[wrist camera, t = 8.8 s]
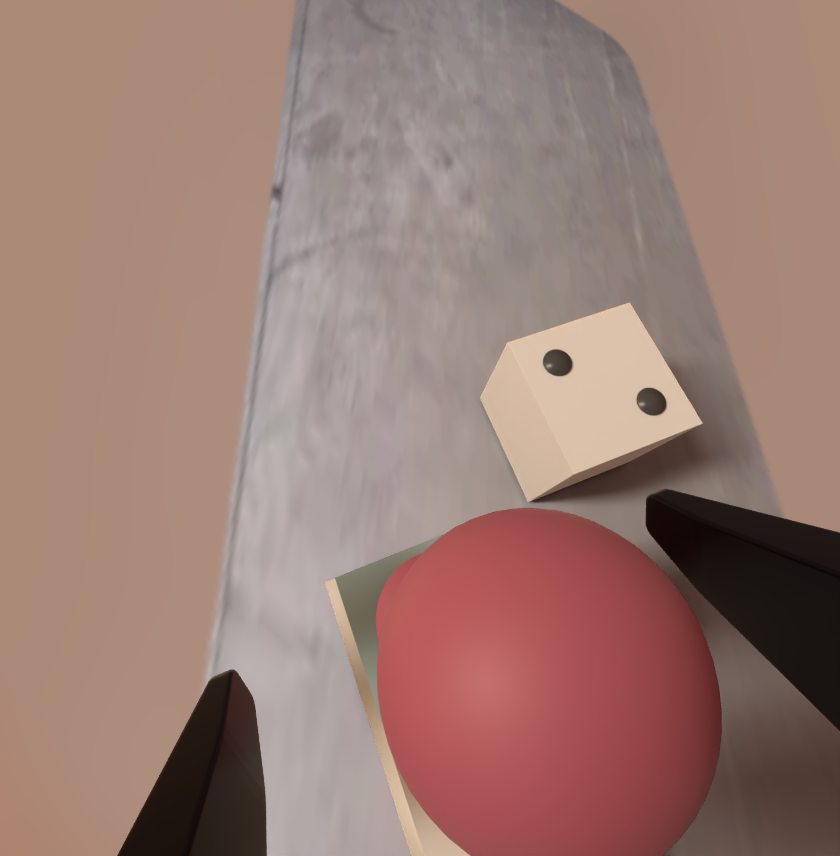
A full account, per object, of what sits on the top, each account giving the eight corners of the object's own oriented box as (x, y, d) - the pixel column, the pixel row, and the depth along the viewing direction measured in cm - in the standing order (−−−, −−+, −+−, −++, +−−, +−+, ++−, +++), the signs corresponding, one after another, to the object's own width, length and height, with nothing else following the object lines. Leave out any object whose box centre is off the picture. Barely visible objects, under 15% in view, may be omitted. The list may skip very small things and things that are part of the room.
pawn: (517, 652, 17) (959, 869, 4) (402, 706, 16) (476, 1206, 3) (468, 535, 18) (682, 403, 5) (359, 579, 17) (283, 555, 4)
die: (629, 461, 20) (704, 422, 16) (528, 502, 20) (574, 473, 15) (576, 363, 22) (629, 299, 17) (479, 396, 21) (507, 339, 16)
